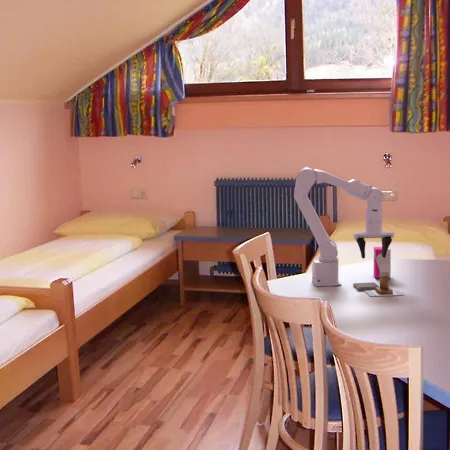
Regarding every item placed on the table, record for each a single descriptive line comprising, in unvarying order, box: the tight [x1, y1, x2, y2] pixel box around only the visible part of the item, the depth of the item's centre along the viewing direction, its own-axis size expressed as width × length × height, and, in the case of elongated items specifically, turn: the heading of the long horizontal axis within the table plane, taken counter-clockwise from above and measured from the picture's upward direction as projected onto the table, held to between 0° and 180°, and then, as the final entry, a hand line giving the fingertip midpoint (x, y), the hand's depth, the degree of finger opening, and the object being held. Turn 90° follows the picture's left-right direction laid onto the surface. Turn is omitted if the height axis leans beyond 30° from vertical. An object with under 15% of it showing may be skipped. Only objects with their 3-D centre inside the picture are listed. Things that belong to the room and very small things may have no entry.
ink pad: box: [352, 281, 380, 292], centre depth 249 cm, size 8×7×1 cm
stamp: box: [376, 275, 394, 295], centre depth 241 cm, size 4×4×6 cm
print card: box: [364, 288, 405, 298], centre depth 241 cm, size 12×7×1 cm, turn 94°
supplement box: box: [373, 246, 392, 280], centre depth 263 cm, size 6×6×12 cm
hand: (373, 257), depth 253 cm, fingers open, 7 cm apart
